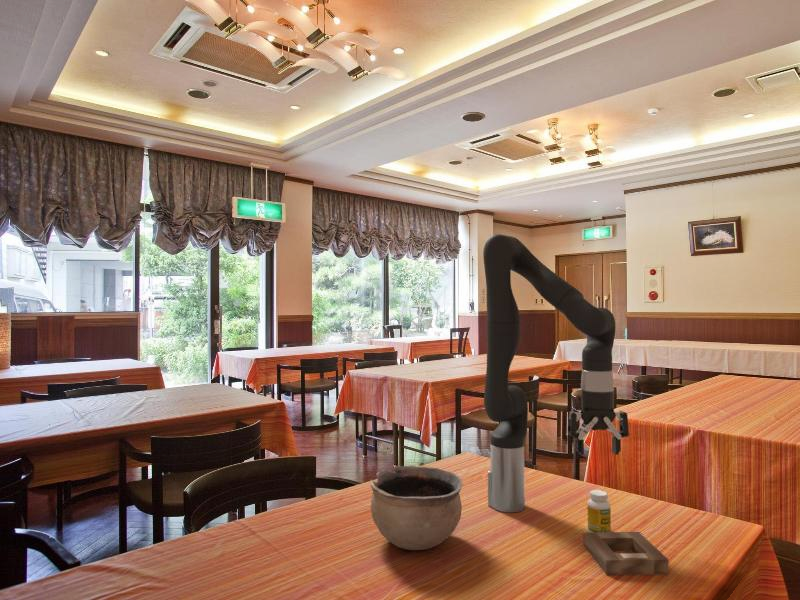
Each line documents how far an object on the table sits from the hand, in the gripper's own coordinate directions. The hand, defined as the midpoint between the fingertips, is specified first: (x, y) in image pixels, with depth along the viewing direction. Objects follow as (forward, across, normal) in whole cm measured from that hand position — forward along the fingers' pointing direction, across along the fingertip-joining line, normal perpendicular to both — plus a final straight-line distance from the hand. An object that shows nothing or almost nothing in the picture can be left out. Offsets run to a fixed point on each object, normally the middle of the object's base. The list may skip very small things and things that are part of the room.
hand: (598, 453), depth 127 cm
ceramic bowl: (+19, -45, -4) cm, 49 cm away
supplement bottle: (+19, 0, 0) cm, 19 cm away
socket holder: (+19, 0, -14) cm, 23 cm away
